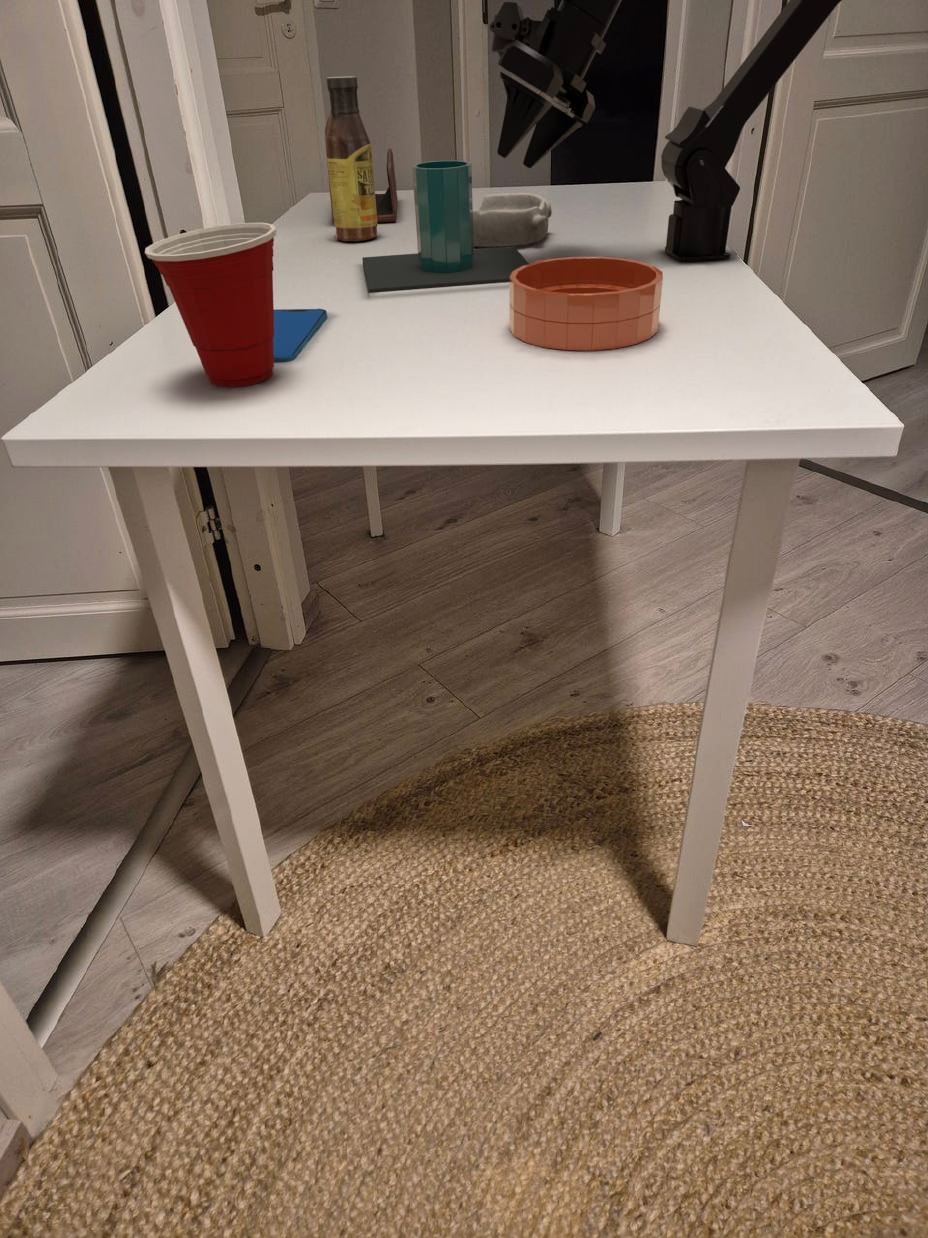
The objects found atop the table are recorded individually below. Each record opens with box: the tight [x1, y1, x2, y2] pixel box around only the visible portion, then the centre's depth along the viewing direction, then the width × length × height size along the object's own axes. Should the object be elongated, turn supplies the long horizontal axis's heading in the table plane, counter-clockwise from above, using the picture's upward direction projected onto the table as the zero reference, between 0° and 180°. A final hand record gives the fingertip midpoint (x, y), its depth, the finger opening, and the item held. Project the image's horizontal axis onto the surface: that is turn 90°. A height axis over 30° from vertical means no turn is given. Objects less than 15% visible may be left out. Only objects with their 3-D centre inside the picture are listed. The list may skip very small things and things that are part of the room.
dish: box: [473, 192, 553, 248], centre depth 115 cm, size 14×14×5 cm
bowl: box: [508, 256, 664, 352], centre depth 79 cm, size 14×14×6 cm
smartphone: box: [273, 308, 328, 363], centre depth 84 cm, size 7×1×15 cm
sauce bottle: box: [325, 75, 378, 242], centre depth 115 cm, size 6×6×20 cm
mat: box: [361, 245, 530, 298], centre depth 101 cm, size 20×16×1 cm
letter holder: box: [324, 114, 399, 227], centre depth 133 cm, size 10×20×14 cm, turn 3°
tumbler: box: [411, 159, 475, 273], centre depth 98 cm, size 7×7×11 cm
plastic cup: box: [144, 222, 277, 388], centre depth 71 cm, size 11×11×12 cm
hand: (514, 161), depth 97 cm, fingers open, 9 cm apart
